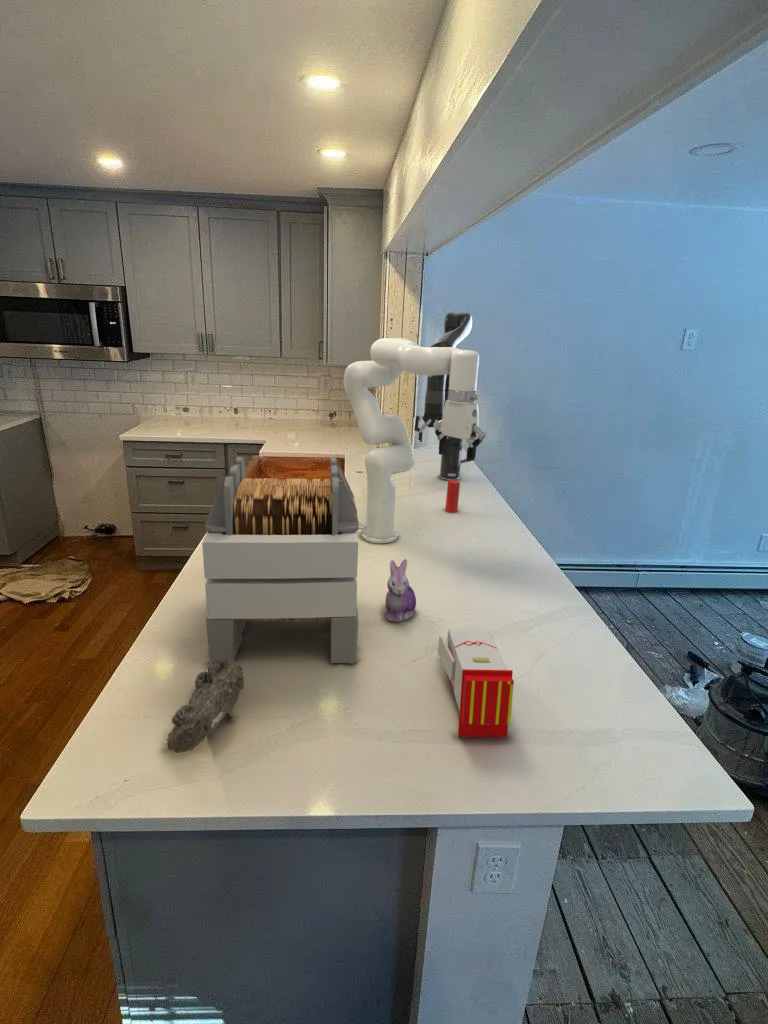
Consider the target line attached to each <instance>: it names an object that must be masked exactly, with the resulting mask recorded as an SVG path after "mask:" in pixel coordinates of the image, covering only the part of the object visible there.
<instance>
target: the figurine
mask: <svg viewBox="0 0 768 1024" xmlns="http://www.w3.org/2000/svg"><path fill="white" fill-rule="evenodd" d="M407 567H408V559H406V558H404V559H403V560H402V561H401V563H400V565H399V566H398V565H397V563H396V562H395V561H394V560H393V559H391V560H390V561H389V570H390V576H389V578H388V579H387V589H388V591H387V592H386V594H385V595H386V596H385V607H384V615H385V616H386V620H387V621H391V622H395V623H400V622H402V621H406V620H409V619H410V618H411V617H413V616H414V615H415V610H416V606H417V597H416V593H415V591H414V590H413V587H411V586H410V582H409V579H408V577H407V574H406V571H407Z"/></svg>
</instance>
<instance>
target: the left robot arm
mask: <svg viewBox="0 0 768 1024" xmlns="http://www.w3.org/2000/svg"><path fill="white" fill-rule="evenodd" d="M369 356H370V357H371V359H372V360H359V361H355V362H352V363H349V365H347V367H346V368H345V370H344V373H343V388H344V391H345V394H346V396H347V398H348V400H349V402H350V404H351V406H352V409H353V412H354V415H355V419H356V423H357V426H358V429H359V433H360V436H361V438H362V440H363V442H364V443H365V444H366V445H369V446H375V445H385V444H388V445H385V446H380V447H375V448H373V449H371V450H369V451H368V453H367V454H366V455H365V459H364V465H365V471H366V480H367V481H366V482H367V483H366V490H367V491H366V519H365V520H366V521H364V522H362V521H359V529H358V530H361V534H360V535H361V538H362V539H363V540H364V541H366V542H368V543H373V544H389V543H393V542H395V541H397V540H398V537H399V534H398V532H397V531H396V530H395V528H394V527H395V510H396V509H395V508H396V507H395V506H396V485H395V482H394V481H393V479H392V476H393V475H397V474H402V473H407V472H409V471H411V470H412V469H413V467H414V466H415V460H416V459H415V452H414V449H413V446H412V442H411V439H410V436H409V433H408V429H407V425H406V424H405V422H404V420H403V419H402V418H401V417H400V416H399V415H397V414H393V413H389V414H383V412H382V411H381V409H380V405H379V402H378V400H377V398H376V397H375V396H374V394H373V393H372V392H371V391H369V389H368V388H379V387H388V386H391V385H393V384H394V383H395V382H396V381H397V380H398V379H399V378H400V377H401V375H402V374H403V373H404V372H406V373H408V374H412V375H413V374H414V375H417V376H419V375H420V376H426V377H428V376H433V375H450V378H449V390H448V400H446V403H445V406H444V410H443V416H442V420H441V421H438V422H436V423H434V424H433V426H434V427H433V429H434V434H435V435H436V437H437V440H438V441H439V442H438V455H440V456H441V455H442V454H446V453H447V447H448V440H447V439H446V438H447V437H448V436H450V437H455V438H459V439H463V441H466V442H467V444H468V447H467V448H466V456H465V457H466V458H465V459H466V461H465V462H468V463H469V462H472V461H475V459H476V455H477V447H479V446H480V445H481V444H482V443H483V440H484V439H485V437H486V436H487V433H486V432H485V431H484V430H483V429H482V428H480V427H479V425H480V424H479V423H480V420H479V419H480V417H479V415H480V414H479V412H480V411H479V404H478V402H476V401H478V400H479V397H480V396H479V394H477V386H478V374H479V363H480V354H479V352H477V351H476V350H471V349H460V348H457V347H456V348H454V347H430V346H428V347H427V346H426V347H425V346H419V345H418V344H417V342H415V341H413V340H410V339H407V338H405V337H382V338H379V339H377V340H375V341H374V342H373V343H372V345H371V346H370V349H369ZM440 426H441V430H440Z"/></svg>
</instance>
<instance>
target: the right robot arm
mask: <svg viewBox="0 0 768 1024" xmlns="http://www.w3.org/2000/svg"><path fill="white" fill-rule="evenodd" d="M443 326H444V327H443V328H444V330H443V331H444V332H443V333H444V334H442V335H441V336H440V337H439V339H438V340H437V342H435V343H433V344H432V345H430V346H429V347H454V348H457V345H459V344H460V343H461V342H462V341H463V340H464V339H465V338H466V337H468V336H469V334H470V332H471V331H472V327H473V317H472V315H471V313H468V312H460V311H448V312H446V314H445V317H444V324H443ZM449 378H450V375H433V376H427V378H426V391H425V397H424V411H423V415H420V414H417V415H416V416H415V423H414V431H415V432H418V441H419V443H423V433H424V432H423V431H424V430H425V429H426V428H427V427H428V428H431V429H432V428H434V426H433V424H434V423H436V422H438V421H441V420H442V416H443V410H444V406H445V403H446V400H448V390H449ZM422 420H423V422H424V423H423V425H421V426H420V427H419V422H421V421H422ZM440 430H441V426H440ZM446 439H447V440H448V447H447V453H446V454H441V455H440V458H441V459H440V469H439V479H441V480H444V481H448V480H458V481H460V475H461V473H460V472H461V464H462V463H465V462H467V461H466V458H465V459H462V453H463V452H462V451H463V441H464V439H459V438H455V437H450V436H448V437H447V438H446Z"/></svg>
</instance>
